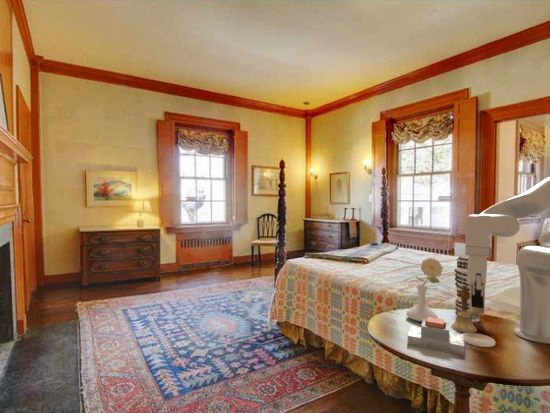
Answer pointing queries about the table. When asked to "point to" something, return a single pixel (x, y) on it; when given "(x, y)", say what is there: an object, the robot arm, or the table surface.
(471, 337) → the coaster
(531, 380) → the table surface
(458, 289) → the decorative candle
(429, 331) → the base
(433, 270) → the flower in vase
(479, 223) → the robot arm
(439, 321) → the button
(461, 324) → the hand bell
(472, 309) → the pale wood brick
